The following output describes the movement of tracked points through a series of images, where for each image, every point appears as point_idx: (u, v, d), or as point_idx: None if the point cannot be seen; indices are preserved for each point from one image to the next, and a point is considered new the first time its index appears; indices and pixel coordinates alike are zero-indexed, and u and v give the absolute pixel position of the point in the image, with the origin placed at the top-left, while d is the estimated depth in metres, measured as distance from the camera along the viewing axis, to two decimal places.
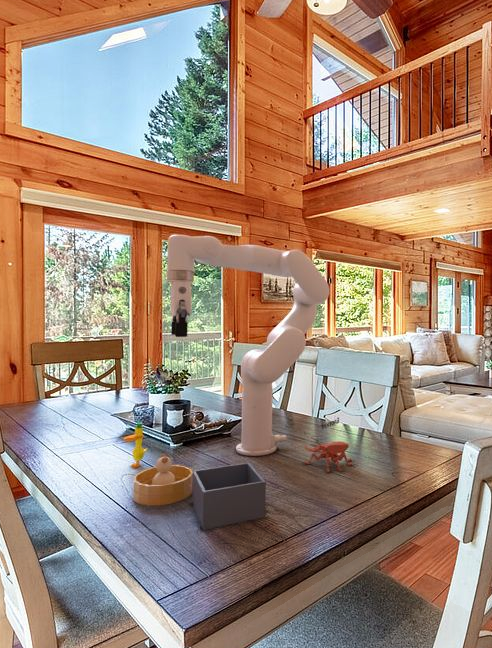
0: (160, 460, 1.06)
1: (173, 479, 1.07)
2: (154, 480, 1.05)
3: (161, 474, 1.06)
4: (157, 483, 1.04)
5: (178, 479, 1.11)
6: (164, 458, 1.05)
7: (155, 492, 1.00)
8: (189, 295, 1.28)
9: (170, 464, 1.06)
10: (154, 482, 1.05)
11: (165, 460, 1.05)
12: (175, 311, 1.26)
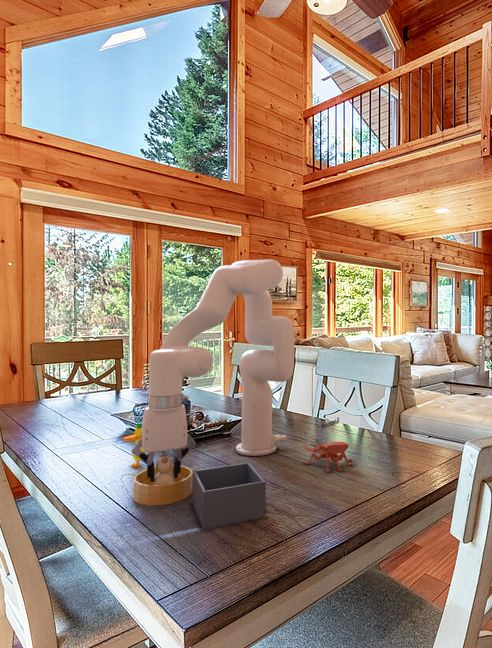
0: (160, 460, 1.06)
1: (173, 479, 1.07)
2: (154, 480, 1.05)
3: (161, 474, 1.06)
4: (157, 483, 1.04)
5: (178, 479, 1.11)
6: (164, 458, 1.05)
7: (155, 492, 1.00)
8: None
9: (170, 464, 1.06)
10: (154, 482, 1.05)
11: (165, 460, 1.05)
12: (186, 442, 1.08)
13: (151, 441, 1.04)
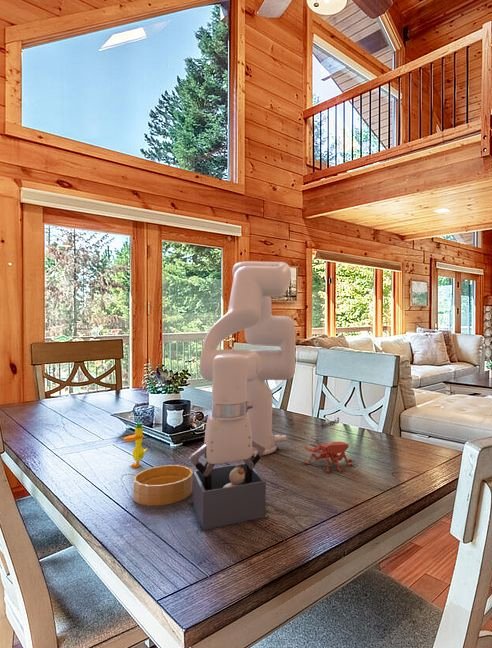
0: (236, 470, 1.00)
1: None
2: None
3: (233, 485, 0.99)
4: None
5: (178, 479, 1.11)
6: (241, 469, 1.00)
7: (155, 492, 1.00)
8: None
9: (244, 477, 1.00)
10: None
11: (242, 471, 0.99)
12: (251, 453, 1.01)
13: (216, 452, 0.97)
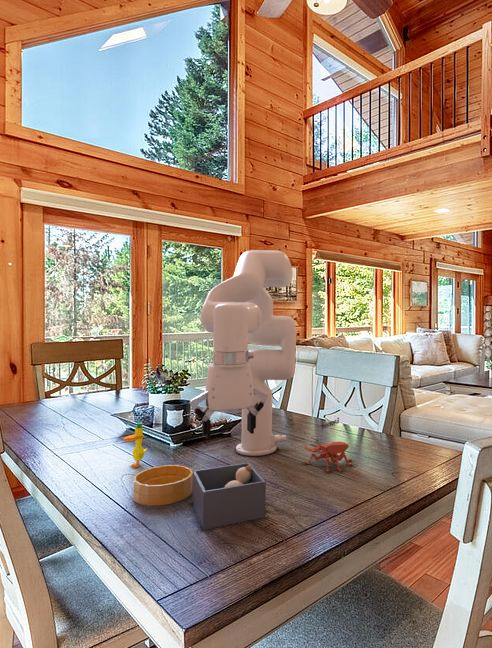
0: (244, 467, 1.04)
1: None
2: (230, 482, 1.01)
3: (238, 481, 1.02)
4: (232, 485, 1.00)
5: (178, 479, 1.11)
6: (249, 466, 1.04)
7: (155, 492, 1.00)
8: None
9: (250, 476, 1.04)
10: (229, 484, 1.01)
11: (249, 468, 1.04)
12: (252, 402, 1.01)
13: (218, 399, 0.97)
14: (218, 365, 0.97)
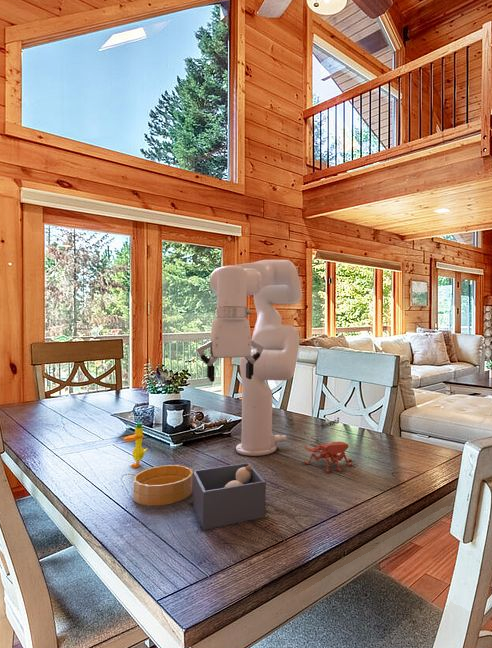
0: (244, 467, 1.04)
1: None
2: (230, 482, 1.01)
3: (238, 481, 1.02)
4: (232, 485, 1.00)
5: (178, 479, 1.11)
6: (249, 466, 1.04)
7: (155, 492, 1.00)
8: None
9: (250, 476, 1.04)
10: (229, 484, 1.01)
11: (249, 468, 1.04)
12: (250, 352, 1.17)
13: (221, 347, 1.13)
14: (221, 318, 1.13)
